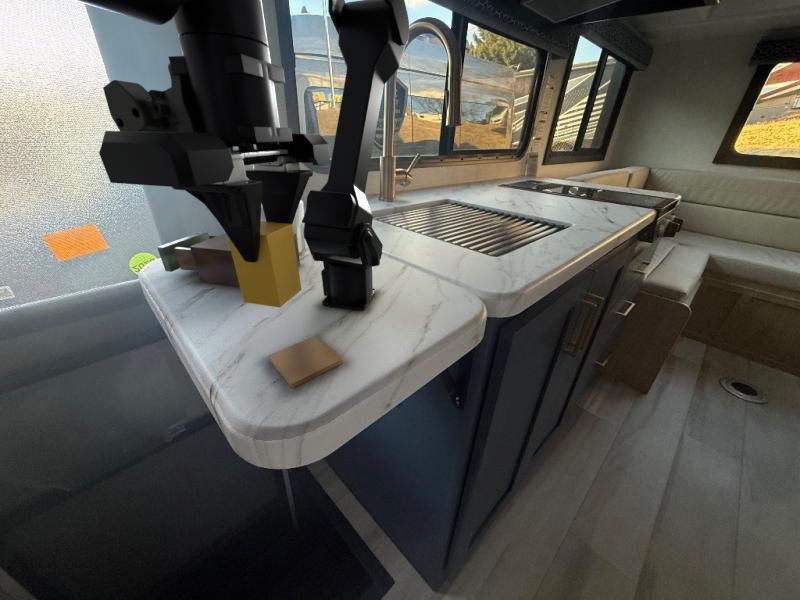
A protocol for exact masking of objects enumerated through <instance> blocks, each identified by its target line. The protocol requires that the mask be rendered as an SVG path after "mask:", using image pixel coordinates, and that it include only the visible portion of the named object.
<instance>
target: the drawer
mask: <svg viewBox="0 0 800 600" xmlns="http://www.w3.org/2000/svg"><path fill="white" fill-rule="evenodd" d="M219 235H220V234H213V233H212V234H210V233H209V231H204V230H203V231H200V232H197V233H194V234H191V235H188V236H186V237H182V238H179V239H176V240H174V241H171V242H167V243H165V244H162V245H159V246H157V247H156V248H157V251H158V254H159V256H160V260H161V262H162V265H163V268H164V271H165V272H168V273H172V272H174V271H177V270H179V269H180V270H181V271H189V272H190V271H191V272H198V271H197V268H196V265H195V262H194V259H193V255H192V251H191V249H190V246H193V245H196V244H198V243H201V242H204V241H206V240H209V239H211V238H214V237H217V236H219Z"/></svg>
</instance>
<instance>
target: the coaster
mask: <svg viewBox="0 0 800 600" xmlns="http://www.w3.org/2000/svg"><path fill="white" fill-rule="evenodd" d="M267 358H268V361H269V362H270V364H271V365H272V366H273V367H274V368H275V370H277V371H278V373H279V374H280V375H281V377H282V378H283V379H284V380H285V381H286V382H287V384H288V385H289V386H290V388H292V389H294V388H296V387H298V386H300V385H302V384H304V383H306V382H308V381H309V380H311V379H314V378H316V377H318V376H320V375H322V374H324V373H326V372H328V371H330V370H332V369H334V368H336V367H339V366H340V365H342V364H343V358H342V357H341V356H340V355H338V354H337V353H336V352H334V351H333V350H332V349H331V347H329V346H328V345H327V344H326V343H324V342H323V341H322V340H321V339H319V337H317V336H313V337H310V338H308V339H305V340H303V341H300V342H298V343H296V344H293V345H291V346H288V347H285V348H284V349H281V350H279V351H276V352H273V353H272V354H269V355H267Z"/></svg>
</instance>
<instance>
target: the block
mask: <svg viewBox="0 0 800 600" xmlns="http://www.w3.org/2000/svg"><path fill="white" fill-rule="evenodd" d="M227 236H228V235H227ZM228 240H229V244H230V248H231V252H232V256H233V260H234V264H235V269H236V273H237V277H238V281H239V285H240V287H239V288H240V293H241V296H242V300H243V303H246V304H254V305H260V306H266V307H267V306H268V307H274V308H281V307H283V306H284V305H285V304H286V303H288V302H289V301H290V300H291V299H293V298H294V297H295V296H296V295H297V294H298V293H300V292H301V291H302V283H301V277H300V270H299V266H298V262H297V255H296V249H295V242H294V235H293V228H292V224H285V223H274V222H262V221H261V225H260V247H259V255H258V261H257V262H255V263H252V262H246V261H245V260H244V259H243V258H242V256H241V255H240V253H239V252H238V250H237V249H236V247H235V246H234V244H233V243H232V241H231V240H230V238H229V237H228Z"/></svg>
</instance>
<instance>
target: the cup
mask: <svg viewBox="0 0 800 600" xmlns="http://www.w3.org/2000/svg"><path fill="white" fill-rule="evenodd" d="M304 215H305V211H304V201H303V200H302V199H301V200H300V203H299V206H298V209H297V212H296V214H295V217H294V220H293V224H292V228H293V233H294V234H296V238H297V245H298V252H299V254H300V253H301V252H303V251H305V250H306V240H305V238H304V232H303V230H304V224H305V223H302V219H303V217H304ZM261 221H262V222H266V219H265V215H264V211H263V207H262V203H261Z"/></svg>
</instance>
